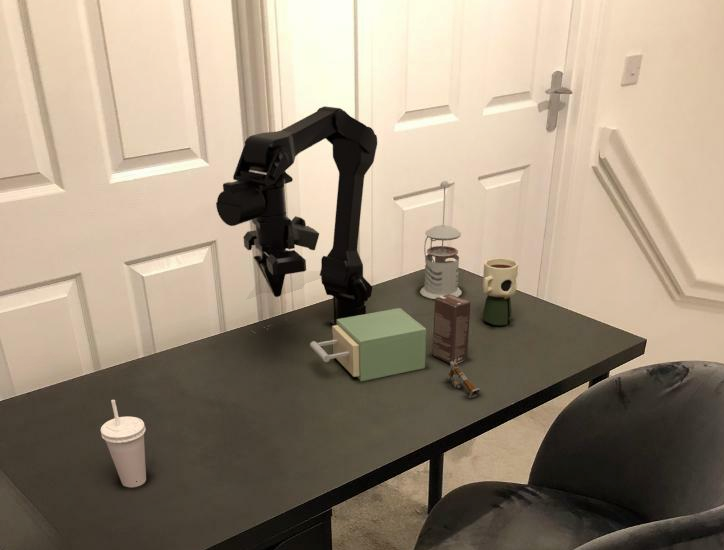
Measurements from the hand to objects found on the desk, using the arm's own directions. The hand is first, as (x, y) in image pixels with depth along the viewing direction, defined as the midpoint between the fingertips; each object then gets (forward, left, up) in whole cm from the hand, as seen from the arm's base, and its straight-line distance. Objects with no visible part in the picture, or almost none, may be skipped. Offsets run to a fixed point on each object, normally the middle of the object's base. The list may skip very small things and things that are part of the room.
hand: (277, 296), depth 156 cm
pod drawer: (+14, +7, -12) cm, 20 cm away
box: (+25, +22, -13) cm, 36 cm away
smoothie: (+14, -45, -13) cm, 49 cm away
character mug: (+22, +43, -13) cm, 50 cm away
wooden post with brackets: (+35, +12, -13) cm, 39 cm away
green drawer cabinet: (+16, +11, -13) cm, 24 cm away
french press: (+1, +50, -13) cm, 51 cm away
